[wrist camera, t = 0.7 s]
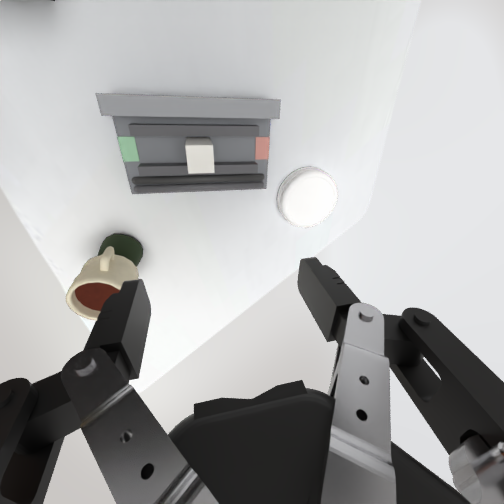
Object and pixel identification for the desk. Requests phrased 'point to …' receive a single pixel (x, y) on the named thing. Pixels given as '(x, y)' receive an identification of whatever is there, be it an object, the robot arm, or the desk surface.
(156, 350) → the desk surface
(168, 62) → the desk surface
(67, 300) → the character mug
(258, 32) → the desk surface
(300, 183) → the white round disc
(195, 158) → the handle
